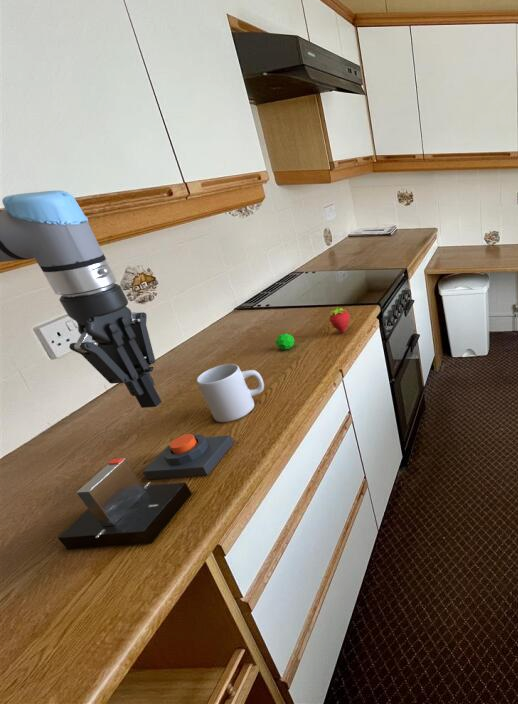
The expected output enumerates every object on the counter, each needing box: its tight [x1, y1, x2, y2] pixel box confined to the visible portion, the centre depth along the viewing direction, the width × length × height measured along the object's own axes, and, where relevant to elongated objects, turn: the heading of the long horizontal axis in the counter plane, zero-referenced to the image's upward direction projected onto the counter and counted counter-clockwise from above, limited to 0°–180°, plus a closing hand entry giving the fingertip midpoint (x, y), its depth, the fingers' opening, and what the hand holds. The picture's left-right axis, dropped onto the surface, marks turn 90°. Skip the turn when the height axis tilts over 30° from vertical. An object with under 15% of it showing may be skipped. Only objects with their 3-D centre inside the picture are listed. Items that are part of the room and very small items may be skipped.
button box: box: [142, 433, 234, 481], centre depth 83 cm, size 12×9×4 cm
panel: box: [57, 481, 193, 551], centre depth 71 cm, size 14×11×3 cm
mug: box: [196, 363, 265, 423], centre depth 97 cm, size 12×8×11 cm
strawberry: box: [329, 307, 350, 334], centre depth 132 cm, size 6×8×10 cm
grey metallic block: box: [76, 457, 146, 526], centre depth 69 cm, size 7×2×8 cm, turn 2°
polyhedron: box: [275, 333, 296, 351], centre depth 126 cm, size 5×5×5 cm
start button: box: [169, 433, 197, 454], centre depth 82 cm, size 4×4×2 cm
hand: (151, 404), depth 77 cm, fingers closed
